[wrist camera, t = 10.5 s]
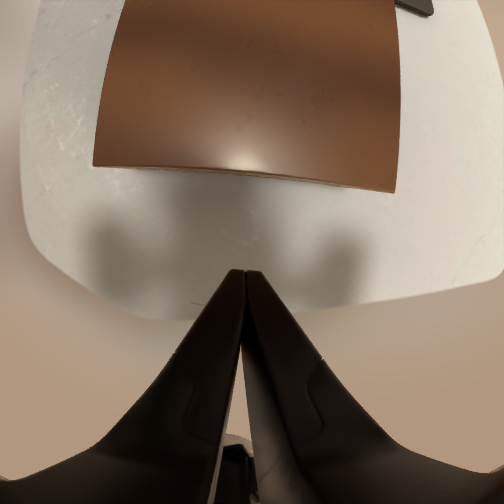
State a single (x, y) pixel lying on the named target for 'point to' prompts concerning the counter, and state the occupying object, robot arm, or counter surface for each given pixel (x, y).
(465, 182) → the counter surface
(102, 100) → the lid
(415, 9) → the smartphone
